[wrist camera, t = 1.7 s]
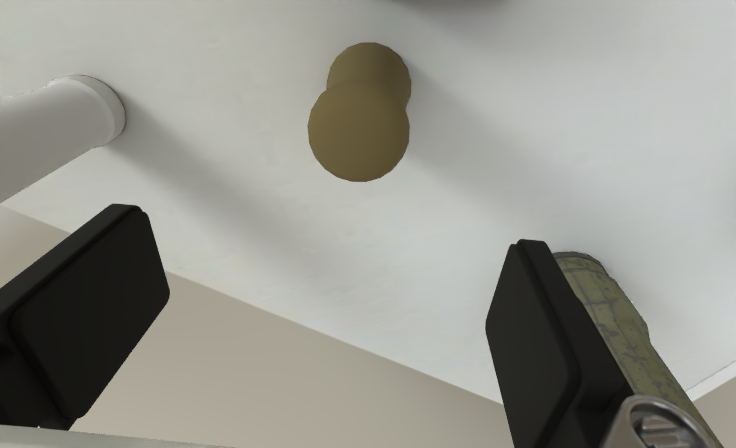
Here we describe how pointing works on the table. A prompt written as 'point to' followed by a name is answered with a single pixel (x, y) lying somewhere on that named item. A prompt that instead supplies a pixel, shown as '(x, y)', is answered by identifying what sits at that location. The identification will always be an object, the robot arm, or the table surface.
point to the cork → (362, 114)
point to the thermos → (624, 333)
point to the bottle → (54, 128)
